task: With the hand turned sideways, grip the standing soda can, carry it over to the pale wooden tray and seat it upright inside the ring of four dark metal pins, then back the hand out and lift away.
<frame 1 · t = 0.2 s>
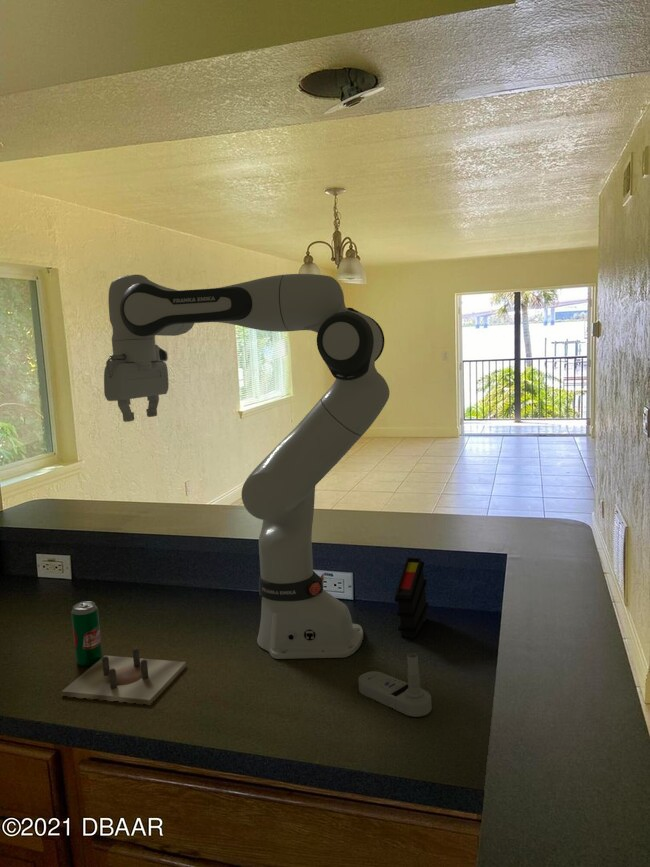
hand: (140, 418, 140), 48 cm above the table, tool pointing down, fingers open, 8 cm apart
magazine: (412, 630, 140), on the table
soda can: (89, 662, 132), on the table
can tray: (126, 681, 124), on the table
electronic device: (394, 701, 113), on the table
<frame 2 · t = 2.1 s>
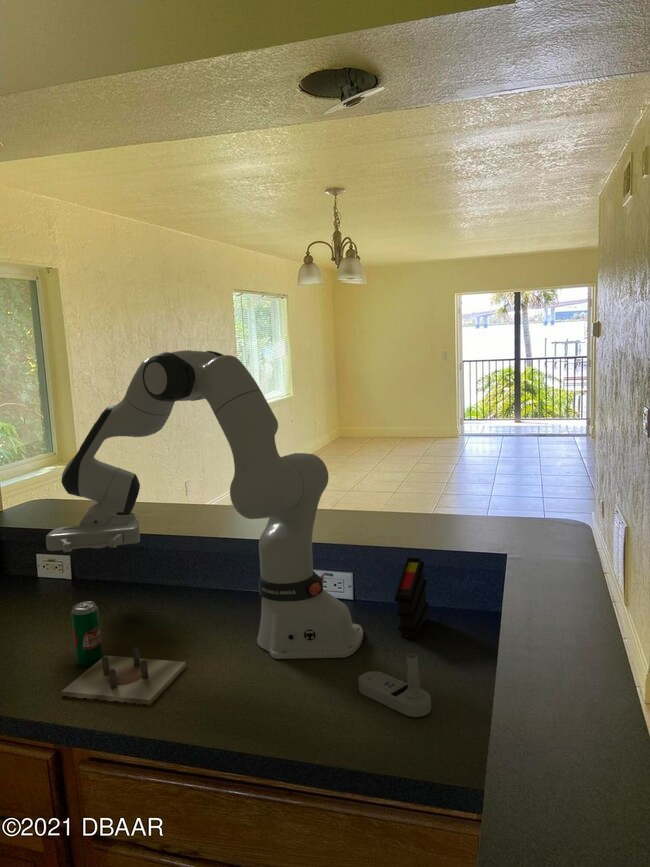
hand: (89, 546, 141), 21 cm above the table, tool horizontal, fingers open, 8 cm apart
nothing on the table moved.
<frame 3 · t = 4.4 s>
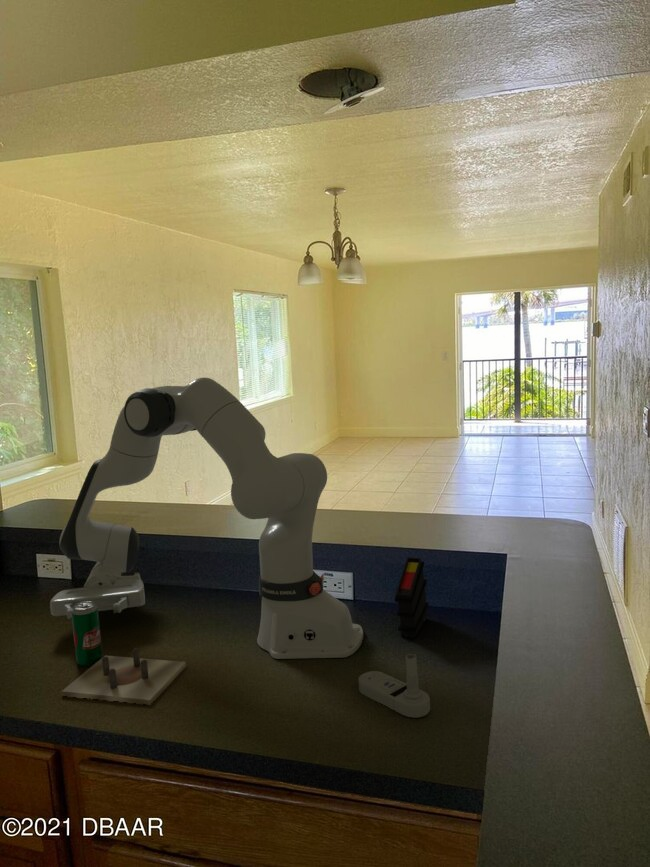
hand: (93, 612, 140), 7 cm above the table, tool horizontal, fingers open, 8 cm apart
nothing on the table moved.
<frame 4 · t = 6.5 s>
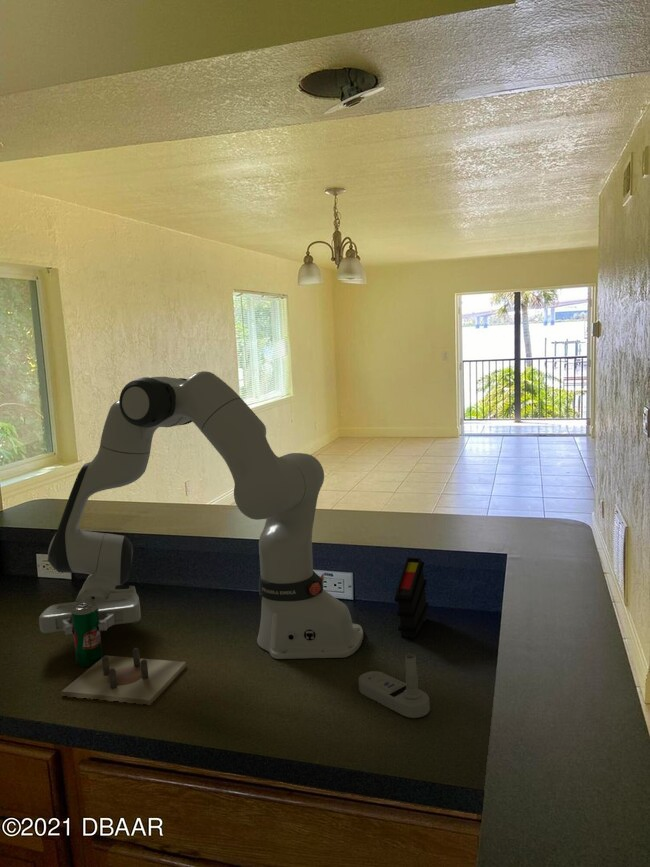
hand: (85, 629, 131), 7 cm above the table, tool horizontal, fingers closed on soda can, 5 cm apart
soda can: (89, 662, 132), on the table, touching gripper
everything else where it was.
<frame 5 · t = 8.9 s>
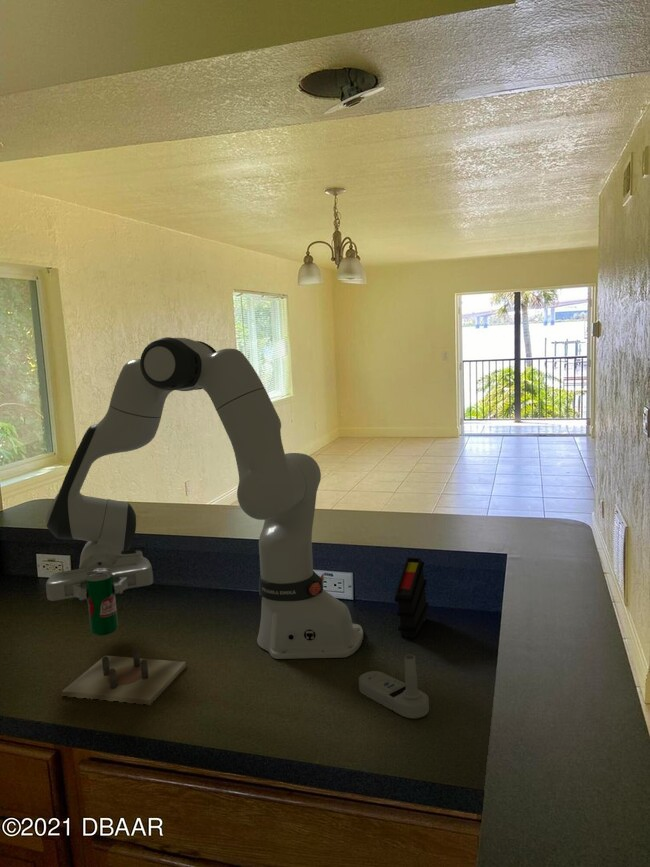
hand: (100, 593, 124), 17 cm above the table, tool horizontal, fingers closed on soda can, 5 cm apart
soda can: (104, 632, 126), point 8 cm above the table, touching gripper
everything else where it was.
when the fingers open (10 cm above the table, at t = 11.6 s): soda can stays where it is, resting on can tray.
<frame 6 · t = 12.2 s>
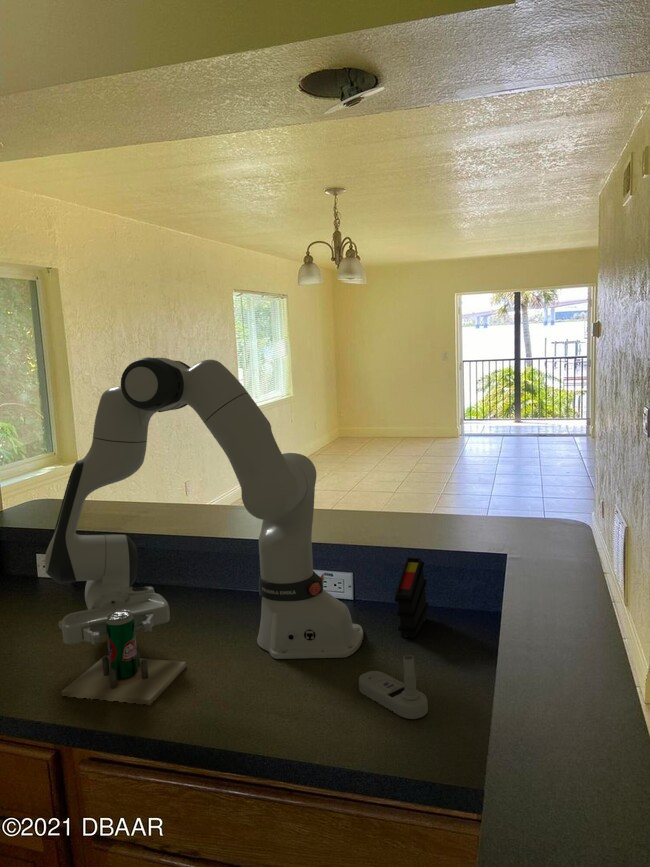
hand: (122, 634, 122), 10 cm above the table, tool horizontal, fingers open, 8 cm apart
soda can: (125, 675, 124), point 1 cm above the table, touching can tray
everything else where it was.
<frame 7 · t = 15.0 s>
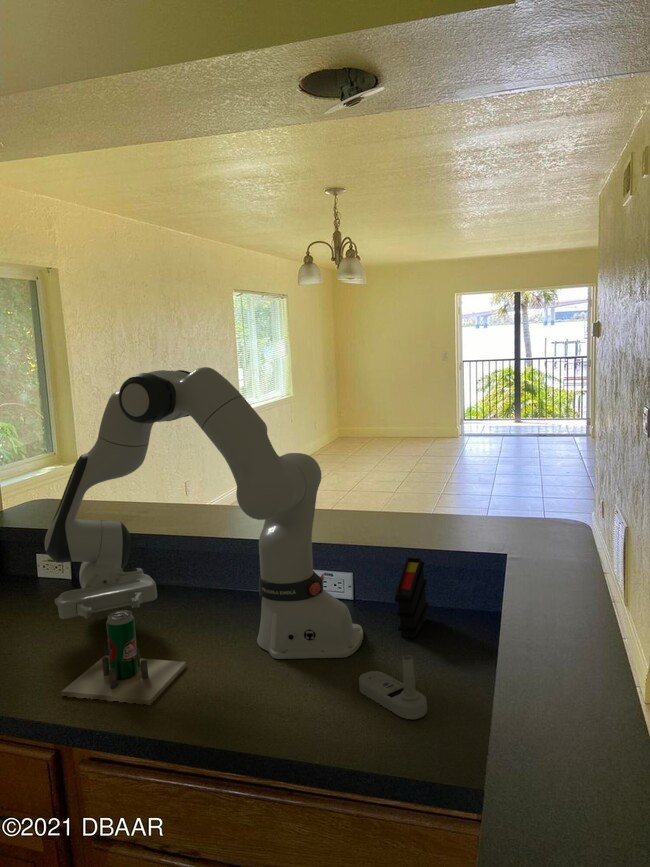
hand: (112, 609, 133), 10 cm above the table, tool horizontal, fingers open, 8 cm apart
nothing on the table moved.
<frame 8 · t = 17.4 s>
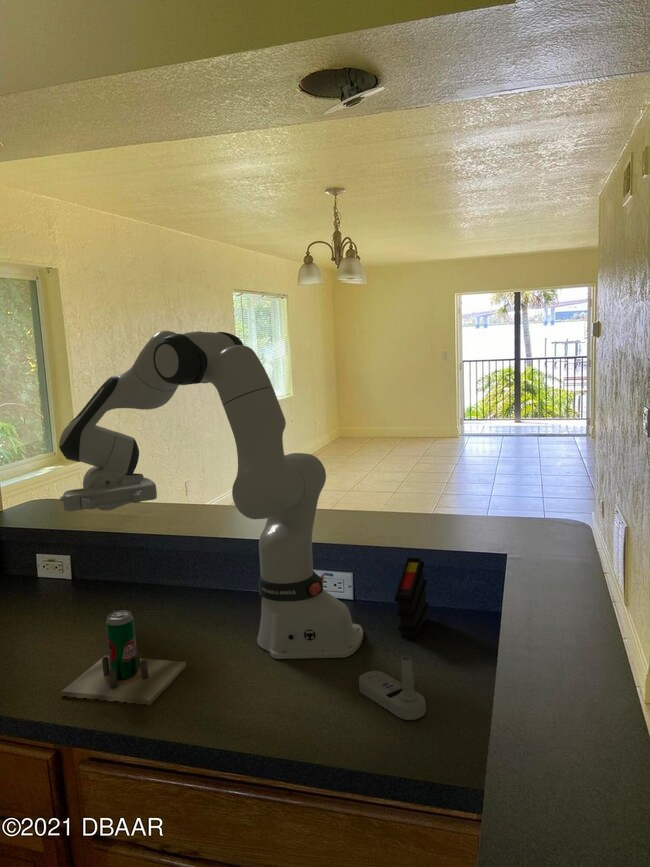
hand: (114, 502, 141), 30 cm above the table, tool horizontal, fingers open, 8 cm apart
nothing on the table moved.
at the end: soda can 0.2 cm off-centre on the can tray, point 1.0 cm above the can tray's base; soda can tilted 0°; the gripper is holding nothing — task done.
